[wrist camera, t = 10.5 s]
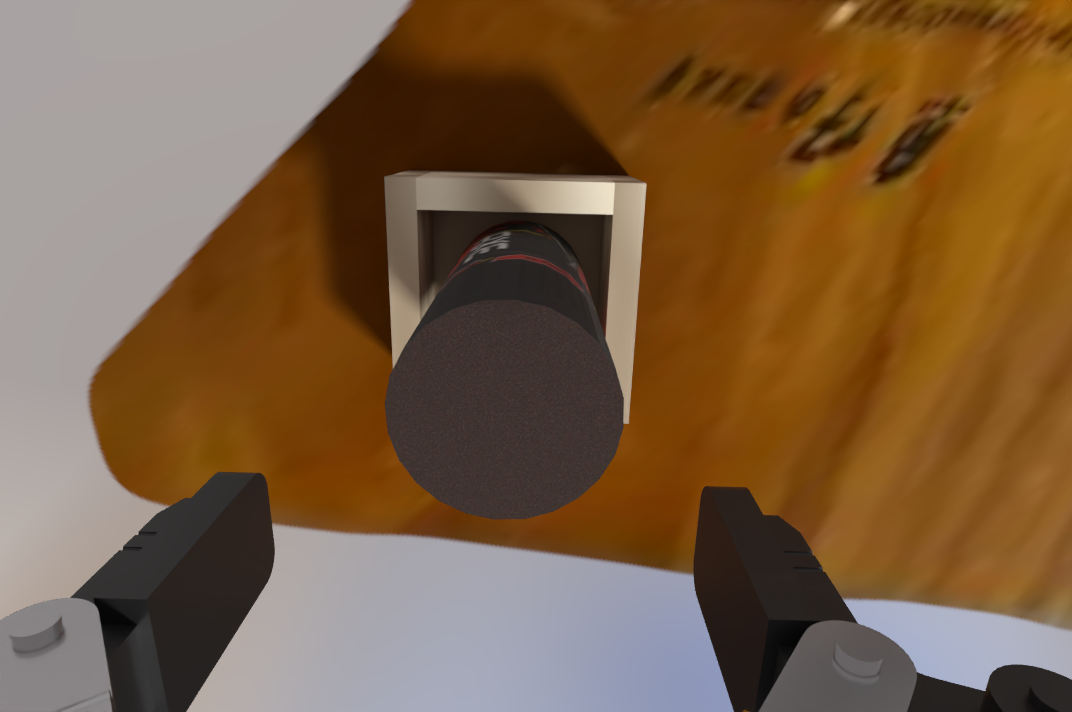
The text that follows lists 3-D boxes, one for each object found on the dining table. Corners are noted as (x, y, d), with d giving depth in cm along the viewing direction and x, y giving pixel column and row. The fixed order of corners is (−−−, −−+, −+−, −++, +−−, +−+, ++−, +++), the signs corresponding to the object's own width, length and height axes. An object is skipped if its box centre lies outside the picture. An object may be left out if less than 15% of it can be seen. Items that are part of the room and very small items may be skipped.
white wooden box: (629, 175, 30) (646, 183, 25) (615, 382, 33) (628, 423, 29) (408, 170, 30) (384, 176, 25) (415, 377, 33) (395, 418, 28)
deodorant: (511, 370, 32) (491, 559, 18) (428, 276, 31) (334, 399, 16) (609, 294, 31) (672, 431, 17) (528, 192, 29) (521, 247, 15)
